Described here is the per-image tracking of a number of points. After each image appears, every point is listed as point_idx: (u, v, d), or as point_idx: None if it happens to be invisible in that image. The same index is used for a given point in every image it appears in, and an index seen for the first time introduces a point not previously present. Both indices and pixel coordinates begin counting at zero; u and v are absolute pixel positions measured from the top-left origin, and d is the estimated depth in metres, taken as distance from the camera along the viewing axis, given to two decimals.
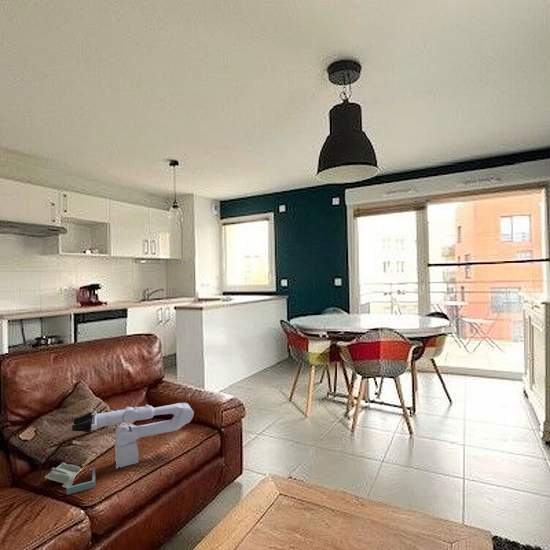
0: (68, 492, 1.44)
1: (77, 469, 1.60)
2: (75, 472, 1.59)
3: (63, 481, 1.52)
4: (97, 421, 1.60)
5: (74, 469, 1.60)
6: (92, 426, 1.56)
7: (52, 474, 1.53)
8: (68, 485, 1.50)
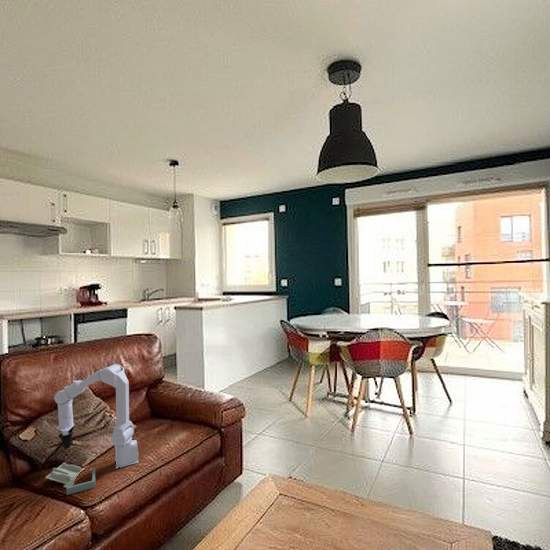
0: (68, 492, 1.44)
1: (78, 469, 1.60)
2: (76, 472, 1.59)
3: (64, 481, 1.52)
4: (64, 426, 1.67)
5: (75, 469, 1.60)
6: (64, 434, 1.63)
7: (53, 474, 1.53)
8: (69, 485, 1.50)
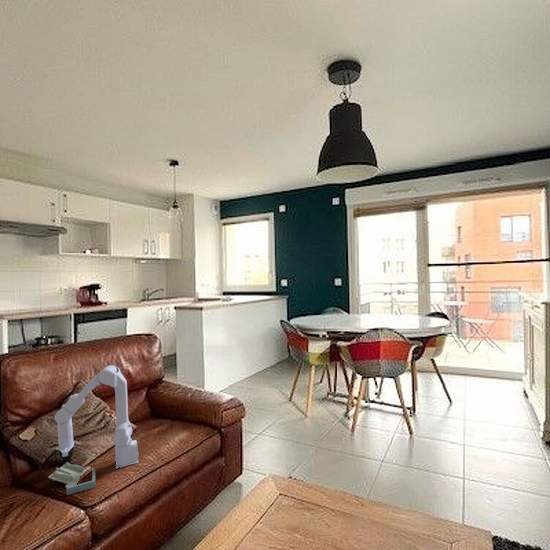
0: (68, 492, 1.44)
1: (81, 469, 1.59)
2: (79, 472, 1.58)
3: (67, 482, 1.51)
4: (64, 447, 1.61)
5: (78, 469, 1.59)
6: (63, 455, 1.57)
7: (56, 474, 1.53)
8: (71, 485, 1.49)
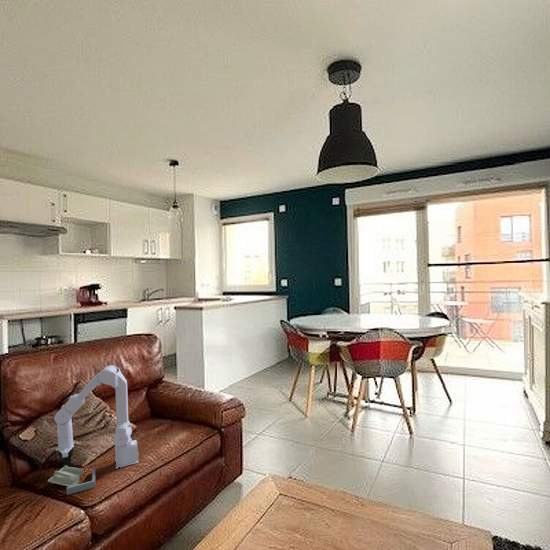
0: (68, 492, 1.44)
1: (80, 472, 1.58)
2: (78, 475, 1.57)
3: (67, 484, 1.49)
4: (63, 448, 1.60)
5: (77, 472, 1.58)
6: (63, 456, 1.56)
7: (55, 477, 1.51)
8: None
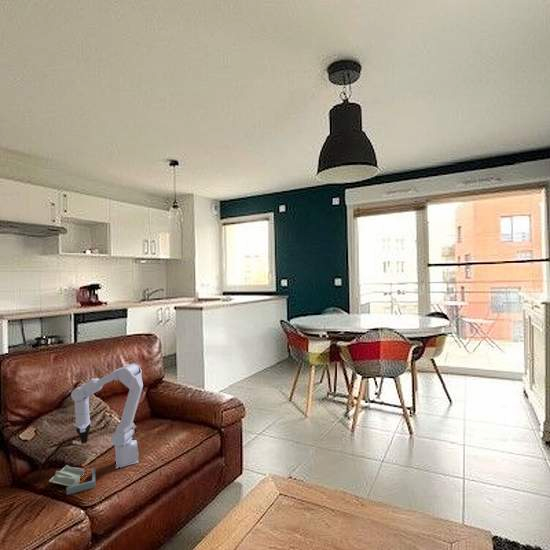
0: (68, 492, 1.44)
1: (81, 472, 1.57)
2: (79, 475, 1.57)
3: (69, 484, 1.49)
4: (81, 424, 1.66)
5: (78, 472, 1.57)
6: (81, 431, 1.62)
7: (57, 477, 1.50)
8: None
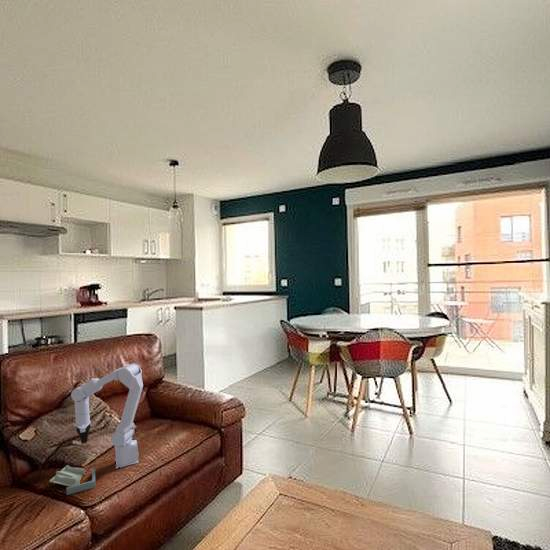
0: (68, 492, 1.44)
1: (82, 472, 1.57)
2: (80, 475, 1.56)
3: (69, 484, 1.49)
4: (81, 424, 1.66)
5: (79, 472, 1.57)
6: (81, 431, 1.62)
7: (57, 477, 1.50)
8: None
